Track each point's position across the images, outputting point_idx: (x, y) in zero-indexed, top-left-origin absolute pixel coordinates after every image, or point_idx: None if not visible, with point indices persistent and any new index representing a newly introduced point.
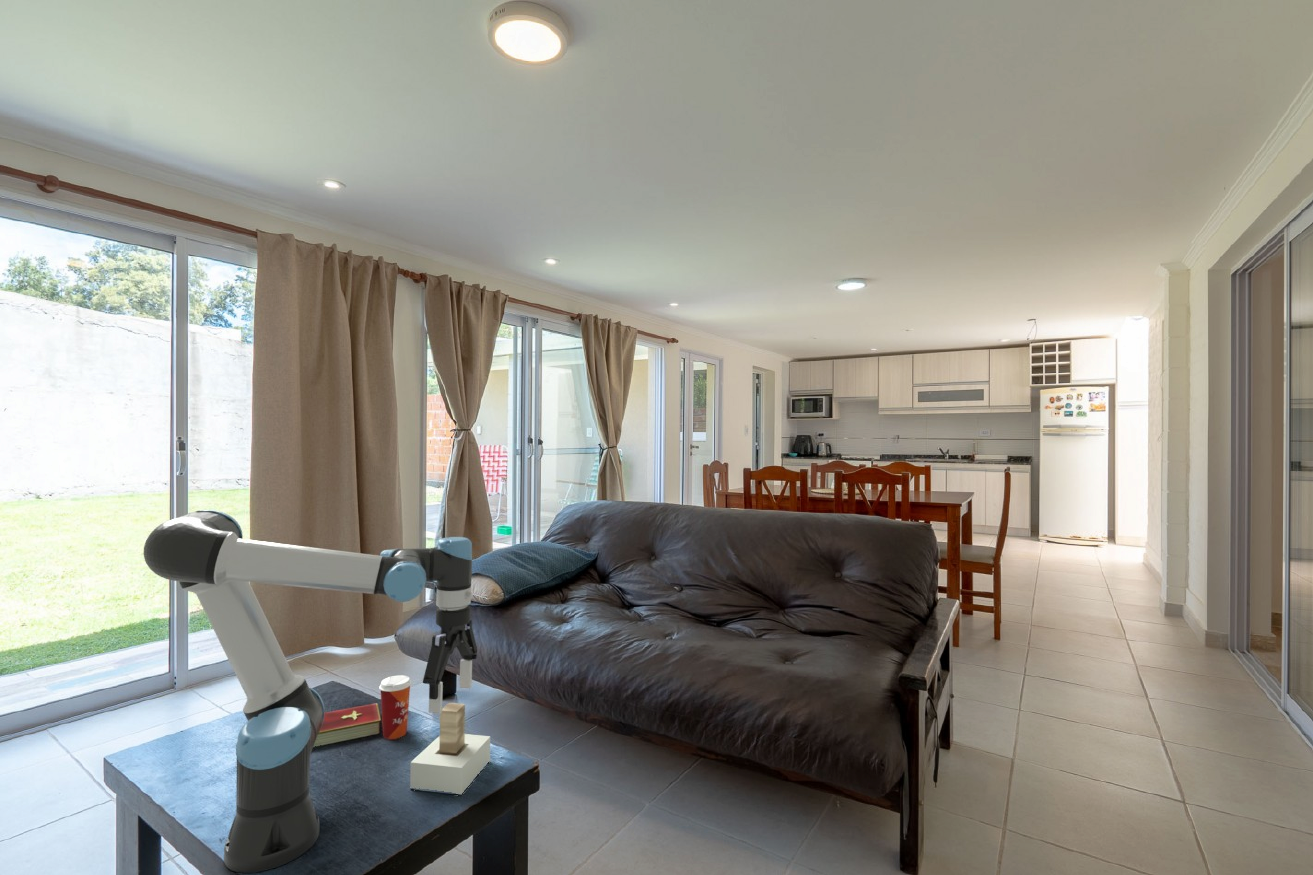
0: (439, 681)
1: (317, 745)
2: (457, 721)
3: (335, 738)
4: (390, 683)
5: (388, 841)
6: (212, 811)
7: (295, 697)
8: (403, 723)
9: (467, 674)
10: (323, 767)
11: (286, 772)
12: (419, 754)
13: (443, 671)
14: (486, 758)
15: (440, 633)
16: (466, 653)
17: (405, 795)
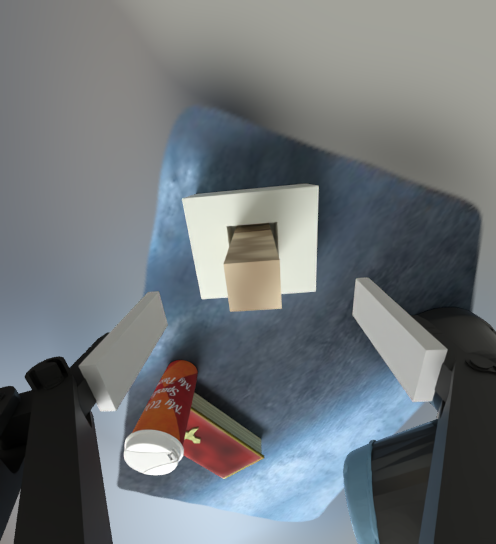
0: (482, 361)
1: (240, 425)
2: (269, 249)
3: (226, 419)
4: (166, 459)
5: (429, 224)
6: (375, 426)
7: None
8: (177, 374)
9: (138, 330)
10: (280, 394)
11: None
12: (287, 292)
13: (456, 406)
14: (208, 193)
15: None
16: (83, 427)
17: (319, 269)
